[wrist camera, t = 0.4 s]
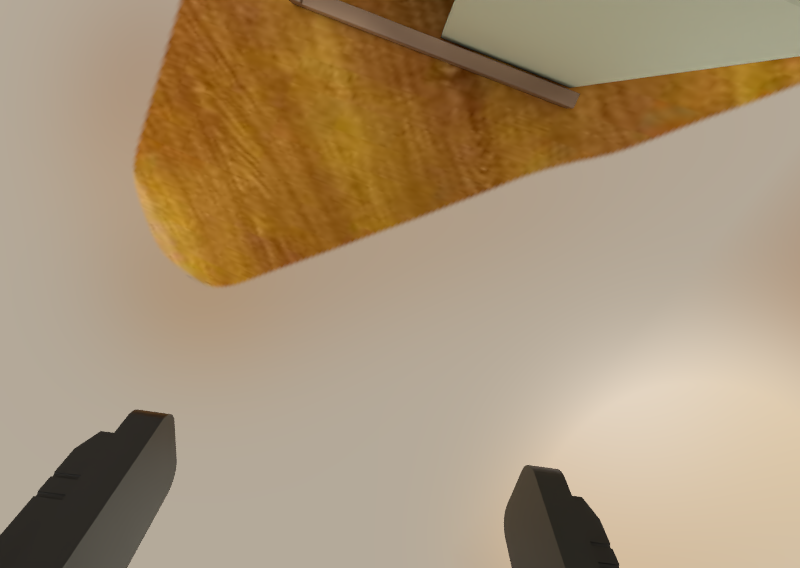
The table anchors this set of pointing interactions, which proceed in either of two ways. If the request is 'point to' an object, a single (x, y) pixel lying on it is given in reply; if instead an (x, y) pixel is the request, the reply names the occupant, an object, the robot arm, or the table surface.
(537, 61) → the hood
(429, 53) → the rails
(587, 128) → the table surface
